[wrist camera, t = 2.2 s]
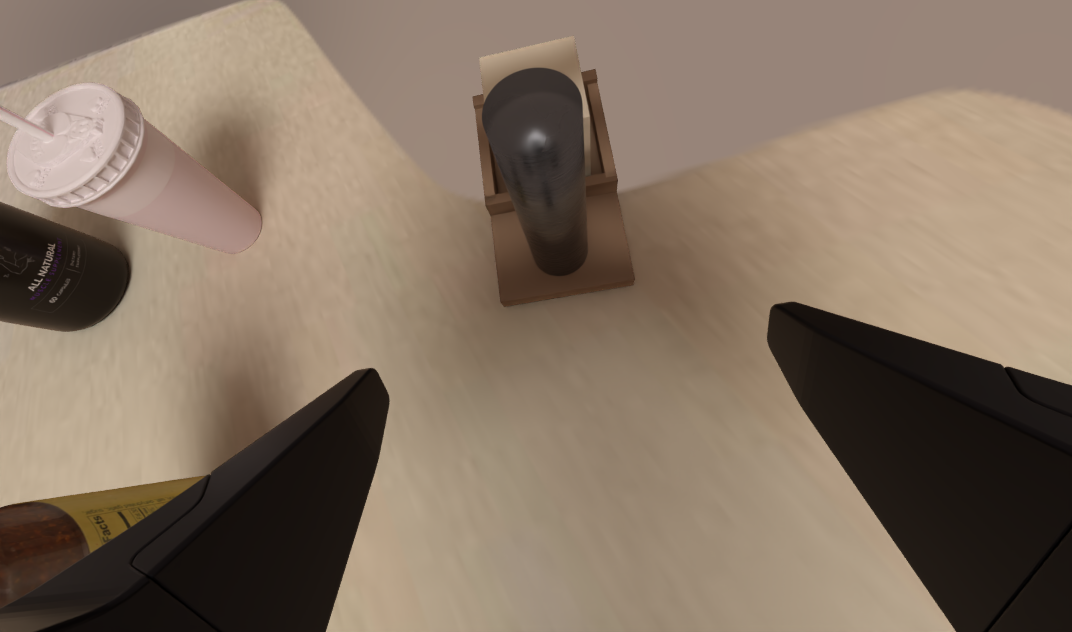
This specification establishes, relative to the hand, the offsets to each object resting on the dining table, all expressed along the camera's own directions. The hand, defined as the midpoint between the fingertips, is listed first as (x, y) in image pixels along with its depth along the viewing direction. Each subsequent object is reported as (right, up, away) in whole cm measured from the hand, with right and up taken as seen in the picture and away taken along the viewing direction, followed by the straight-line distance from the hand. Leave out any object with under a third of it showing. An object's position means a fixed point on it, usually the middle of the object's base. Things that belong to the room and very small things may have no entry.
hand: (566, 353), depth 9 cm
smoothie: (-22, +7, +19) cm, 30 cm away
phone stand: (0, +8, +16) cm, 18 cm away
